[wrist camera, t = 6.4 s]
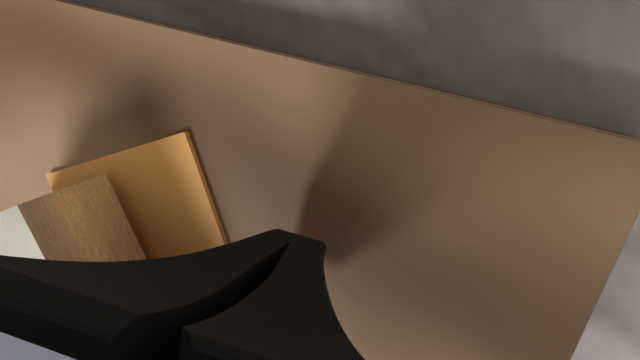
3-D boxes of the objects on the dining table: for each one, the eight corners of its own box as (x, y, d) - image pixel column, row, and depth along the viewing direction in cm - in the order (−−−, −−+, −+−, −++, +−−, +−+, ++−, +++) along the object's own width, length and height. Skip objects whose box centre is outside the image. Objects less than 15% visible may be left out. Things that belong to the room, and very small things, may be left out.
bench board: (414, 645, 17) (413, 705, 16) (-105, 425, 21) (-149, 456, 19) (637, 138, 11) (672, 150, 10) (-138, -50, 15) (-206, -63, 13)
